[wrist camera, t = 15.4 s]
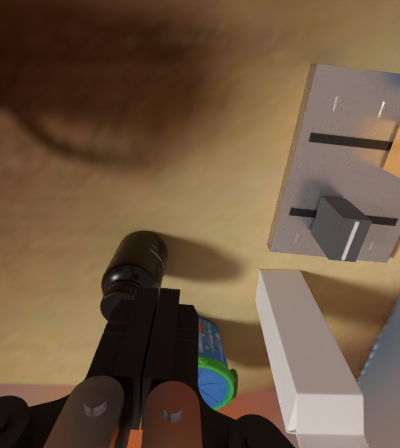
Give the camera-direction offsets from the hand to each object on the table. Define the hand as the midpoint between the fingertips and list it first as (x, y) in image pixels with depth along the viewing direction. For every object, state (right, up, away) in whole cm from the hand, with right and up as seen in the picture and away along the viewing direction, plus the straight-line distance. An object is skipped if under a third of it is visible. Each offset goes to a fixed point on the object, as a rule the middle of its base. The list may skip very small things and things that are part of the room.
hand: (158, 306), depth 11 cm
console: (+20, +9, +25) cm, 34 cm away
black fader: (+17, +4, +25) cm, 31 cm away
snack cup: (+1, -15, +38) cm, 41 cm away
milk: (+13, -6, +33) cm, 36 cm away
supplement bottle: (-6, -1, +31) cm, 31 cm away
